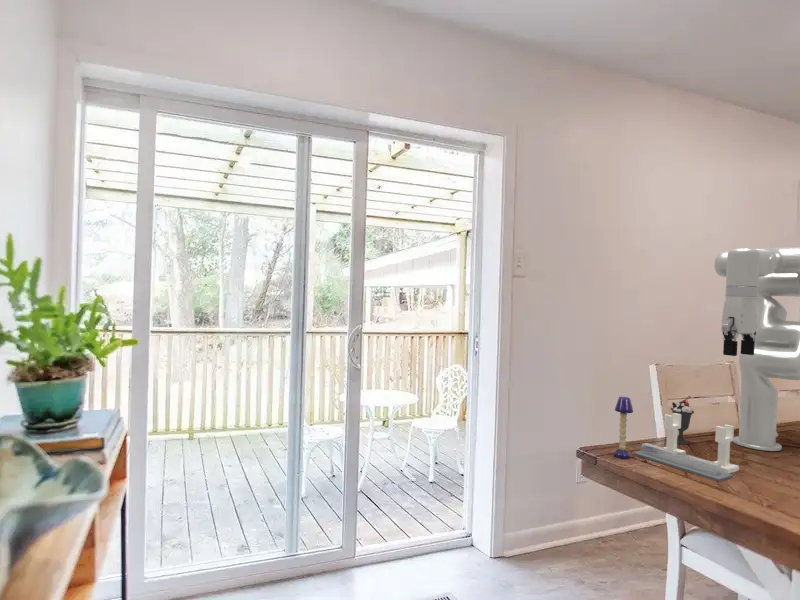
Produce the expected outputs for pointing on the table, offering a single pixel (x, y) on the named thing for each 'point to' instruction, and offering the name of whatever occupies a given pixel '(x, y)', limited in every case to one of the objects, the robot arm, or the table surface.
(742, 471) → the table surface
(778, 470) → the table surface
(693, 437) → the table surface
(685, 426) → the sundae
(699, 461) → the rail
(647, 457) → the mat
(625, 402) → the toy lamp
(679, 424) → the rack
